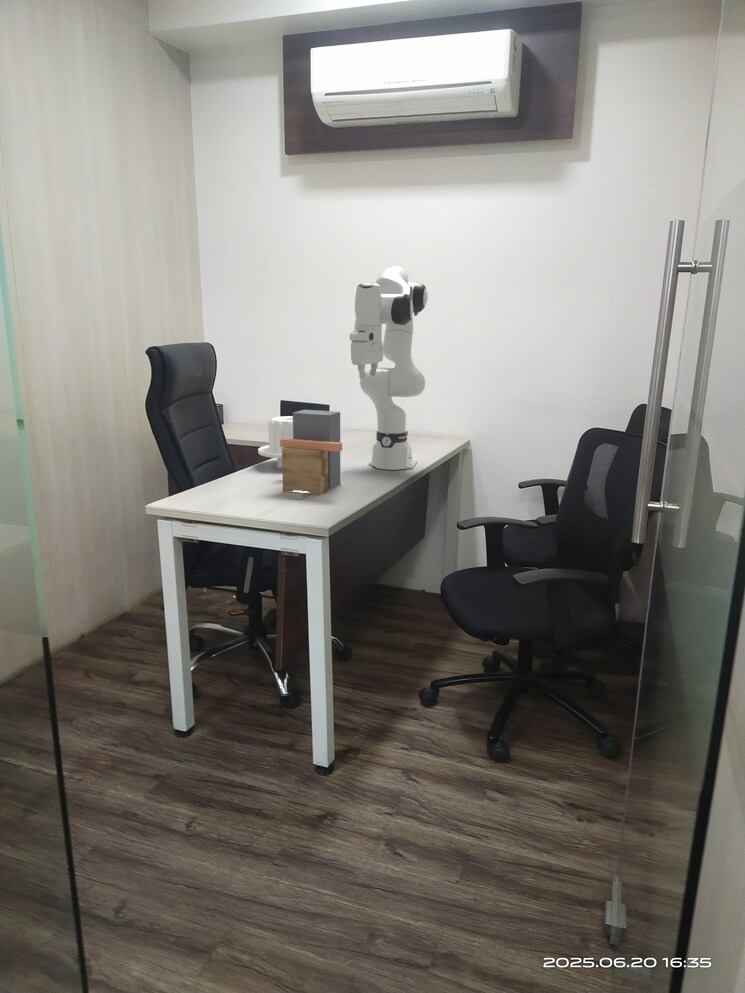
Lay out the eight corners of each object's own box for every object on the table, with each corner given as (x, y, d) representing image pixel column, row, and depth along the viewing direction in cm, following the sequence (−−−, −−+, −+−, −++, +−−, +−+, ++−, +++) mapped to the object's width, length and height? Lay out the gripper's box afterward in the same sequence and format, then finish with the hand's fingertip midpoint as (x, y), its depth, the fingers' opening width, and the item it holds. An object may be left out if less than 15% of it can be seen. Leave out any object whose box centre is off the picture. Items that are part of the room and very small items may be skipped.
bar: (283, 445, 244) (283, 438, 243) (342, 450, 236) (342, 442, 236) (280, 446, 241) (280, 439, 241) (339, 451, 234) (339, 444, 233)
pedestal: (305, 480, 258) (304, 409, 252) (340, 483, 254) (340, 411, 247) (294, 485, 250) (292, 412, 244) (330, 489, 245) (329, 415, 239)
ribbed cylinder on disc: (319, 458, 297) (318, 414, 292) (323, 471, 273) (323, 423, 268) (259, 460, 293) (257, 414, 289) (258, 473, 269) (256, 424, 265)
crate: (292, 486, 249) (291, 444, 245) (328, 490, 244) (328, 447, 240) (282, 491, 243) (281, 448, 239) (319, 495, 238) (319, 451, 234)
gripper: (370, 333, 240) (370, 374, 243) (347, 335, 221) (347, 379, 225) (388, 333, 238) (387, 375, 241) (366, 335, 219) (365, 380, 223)
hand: (367, 377), depth 233 cm, fingers open, 8 cm apart
